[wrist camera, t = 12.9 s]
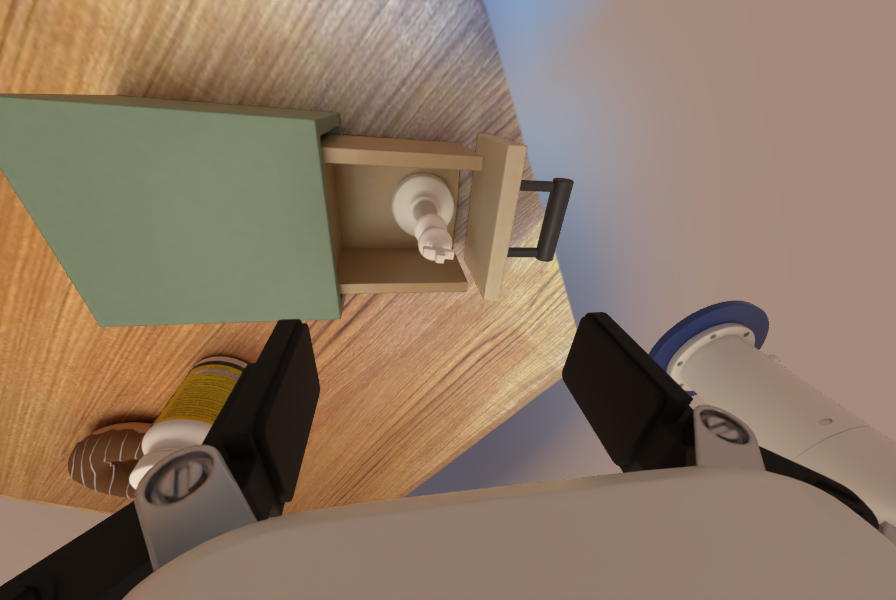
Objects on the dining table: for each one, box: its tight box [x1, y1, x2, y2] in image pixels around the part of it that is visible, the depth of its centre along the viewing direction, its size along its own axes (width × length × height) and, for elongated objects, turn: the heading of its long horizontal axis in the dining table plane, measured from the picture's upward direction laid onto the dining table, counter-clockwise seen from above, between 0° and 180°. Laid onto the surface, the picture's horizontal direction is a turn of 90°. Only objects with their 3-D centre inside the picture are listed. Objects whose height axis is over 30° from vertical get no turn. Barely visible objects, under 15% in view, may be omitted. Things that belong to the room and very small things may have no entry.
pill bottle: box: [129, 356, 248, 489], centre depth 28 cm, size 6×6×11 cm
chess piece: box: [391, 173, 455, 264], centre depth 21 cm, size 5×5×10 cm
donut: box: [68, 422, 152, 498], centre depth 35 cm, size 11×11×4 cm
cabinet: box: [0, 93, 346, 327], centre depth 20 cm, size 14×12×9 cm
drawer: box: [320, 133, 574, 301], centre depth 23 cm, size 17×10×7 cm, turn 86°
